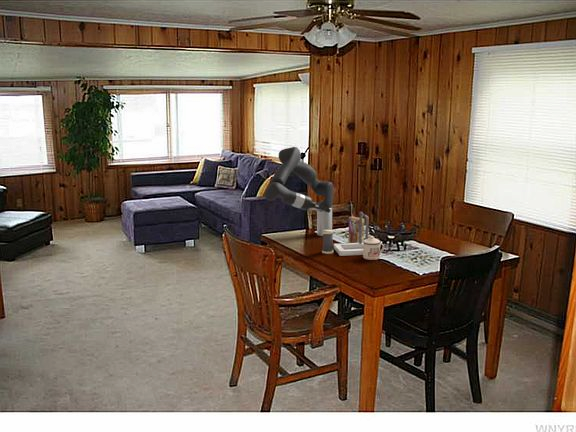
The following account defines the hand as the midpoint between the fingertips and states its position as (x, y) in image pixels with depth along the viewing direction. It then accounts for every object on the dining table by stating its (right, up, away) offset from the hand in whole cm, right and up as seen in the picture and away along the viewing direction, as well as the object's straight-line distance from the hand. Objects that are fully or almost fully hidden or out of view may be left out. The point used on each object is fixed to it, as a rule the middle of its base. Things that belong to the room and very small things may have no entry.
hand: (326, 210), depth 302 cm
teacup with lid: (+25, -25, -3) cm, 36 cm away
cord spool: (+1, -23, +7) cm, 24 cm away
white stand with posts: (+16, -22, +9) cm, 29 cm away
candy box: (+19, -19, +25) cm, 37 cm away
